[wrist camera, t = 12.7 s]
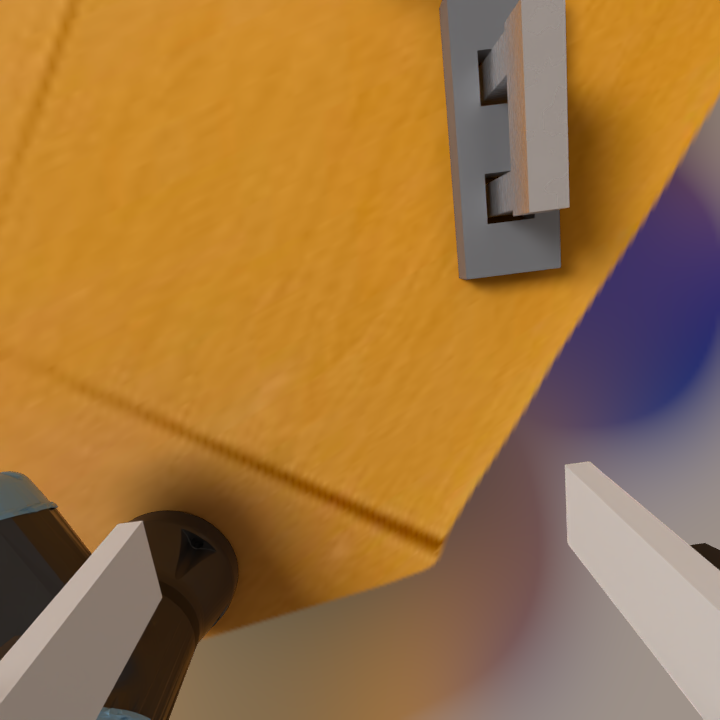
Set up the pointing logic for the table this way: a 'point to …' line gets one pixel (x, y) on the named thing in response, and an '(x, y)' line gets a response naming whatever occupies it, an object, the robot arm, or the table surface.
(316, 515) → the table surface
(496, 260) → the grey slotted base plate
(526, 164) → the light gray u-shaped block
